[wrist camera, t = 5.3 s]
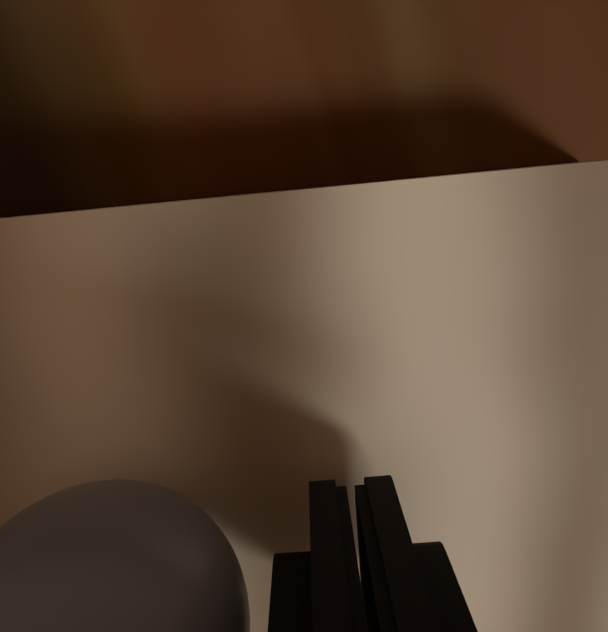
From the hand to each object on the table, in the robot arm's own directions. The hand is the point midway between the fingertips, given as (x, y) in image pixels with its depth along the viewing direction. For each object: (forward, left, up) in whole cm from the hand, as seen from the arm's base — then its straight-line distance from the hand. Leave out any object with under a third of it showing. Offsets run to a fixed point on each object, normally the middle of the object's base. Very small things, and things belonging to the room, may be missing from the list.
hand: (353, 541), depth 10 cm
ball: (+4, +2, +2) cm, 5 cm away
